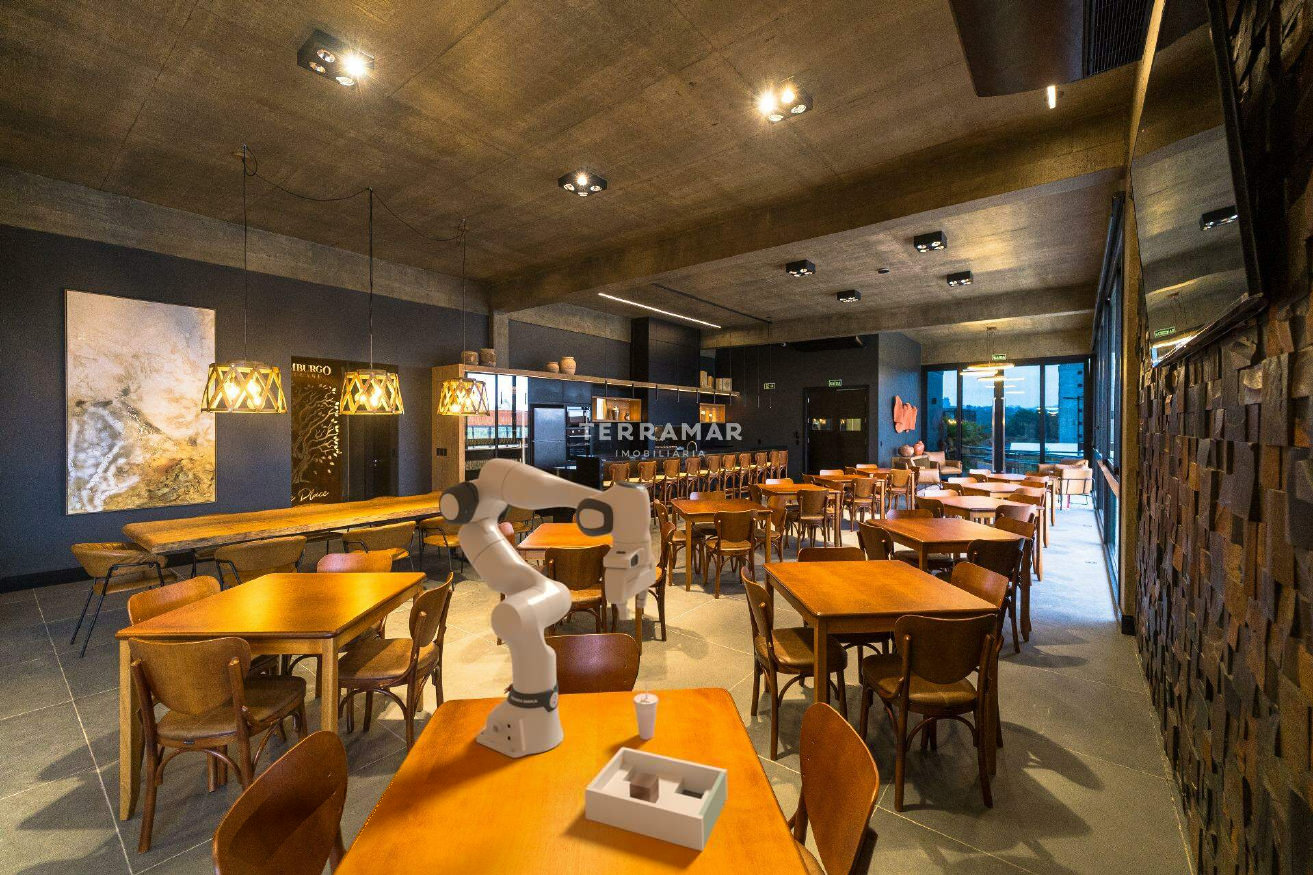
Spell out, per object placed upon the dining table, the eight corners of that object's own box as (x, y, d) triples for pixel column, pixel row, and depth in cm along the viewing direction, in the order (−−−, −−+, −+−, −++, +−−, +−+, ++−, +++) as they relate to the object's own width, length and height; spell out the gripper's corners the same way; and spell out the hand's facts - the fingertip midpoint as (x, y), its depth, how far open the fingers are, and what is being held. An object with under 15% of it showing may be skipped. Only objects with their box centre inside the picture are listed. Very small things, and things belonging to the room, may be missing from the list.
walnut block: (629, 805, 115) (629, 783, 115) (639, 792, 120) (638, 771, 120) (650, 811, 114) (649, 788, 114) (658, 797, 118) (658, 775, 118)
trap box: (585, 818, 116) (585, 788, 116) (622, 772, 132) (622, 746, 132) (702, 851, 107) (701, 819, 107) (727, 797, 122) (726, 769, 122)
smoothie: (639, 744, 144) (638, 689, 144) (630, 732, 150) (629, 679, 150) (662, 738, 147) (661, 684, 147) (652, 727, 152) (652, 674, 152)
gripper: (638, 543, 142) (639, 599, 142) (599, 560, 123) (600, 624, 123) (661, 545, 139) (662, 601, 139) (625, 562, 120) (626, 628, 120)
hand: (633, 612), depth 131 cm, fingers open, 8 cm apart
